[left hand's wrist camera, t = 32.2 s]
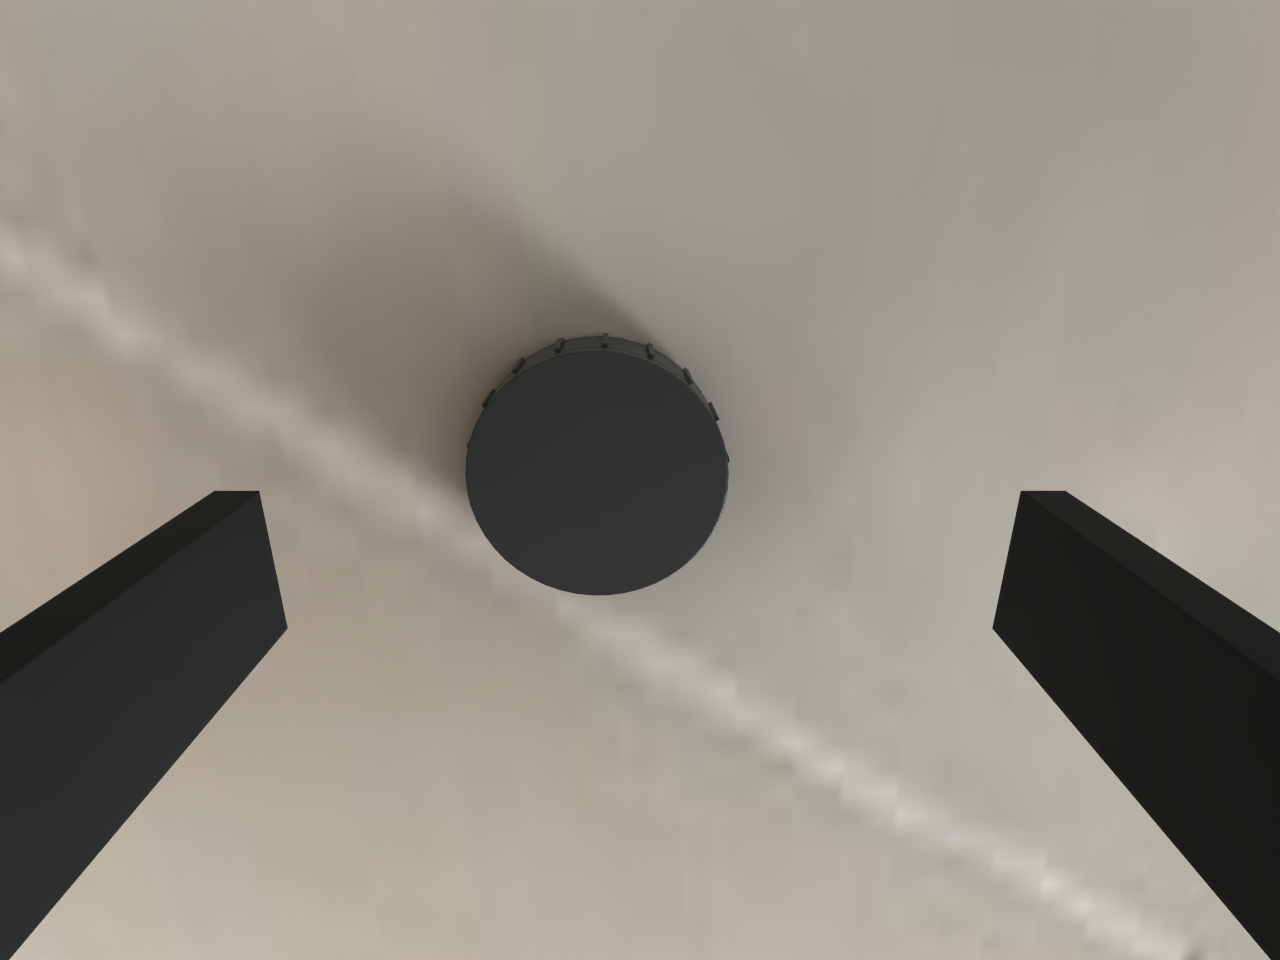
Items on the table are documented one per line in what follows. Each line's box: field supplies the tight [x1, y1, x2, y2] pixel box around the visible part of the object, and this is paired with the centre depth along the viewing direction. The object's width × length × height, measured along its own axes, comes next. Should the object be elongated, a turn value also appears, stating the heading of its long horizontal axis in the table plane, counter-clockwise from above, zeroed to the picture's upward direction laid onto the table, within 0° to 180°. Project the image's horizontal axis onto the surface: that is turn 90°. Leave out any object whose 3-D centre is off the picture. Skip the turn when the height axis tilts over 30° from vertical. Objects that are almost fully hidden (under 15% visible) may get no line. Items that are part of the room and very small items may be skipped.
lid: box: [466, 333, 729, 595], centre depth 16 cm, size 6×6×2 cm
